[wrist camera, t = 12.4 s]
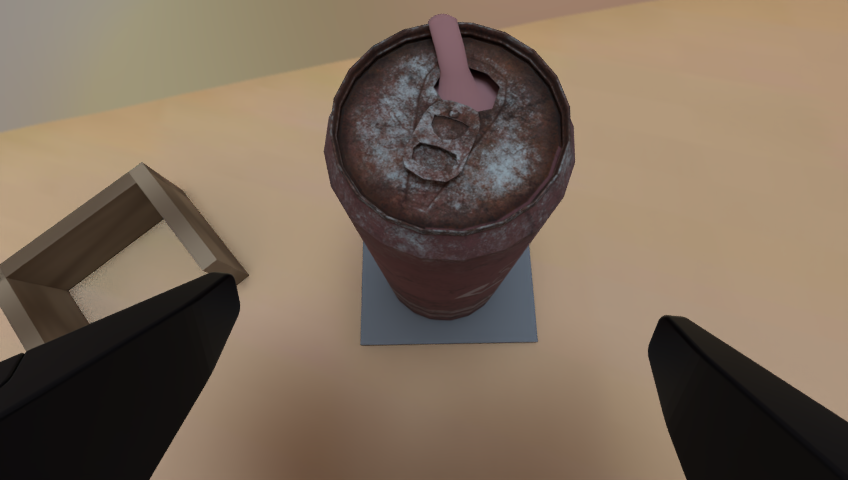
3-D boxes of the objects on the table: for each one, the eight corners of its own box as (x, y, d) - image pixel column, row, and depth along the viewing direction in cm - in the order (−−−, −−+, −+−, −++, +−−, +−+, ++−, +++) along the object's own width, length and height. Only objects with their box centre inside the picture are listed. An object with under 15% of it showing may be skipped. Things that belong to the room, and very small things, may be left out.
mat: (536, 342, 22) (537, 341, 21) (361, 345, 22) (360, 344, 22) (521, 181, 24) (523, 178, 24) (365, 185, 25) (364, 183, 24)
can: (481, 195, 24) (535, -26, 10) (514, 305, 22) (631, 208, 9) (375, 220, 24) (293, 27, 10) (400, 333, 22) (338, 278, 8)
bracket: (248, 275, 23) (216, 259, 20) (109, 388, 22) (49, 391, 18) (181, 189, 25) (141, 162, 22) (47, 289, 23) (-17, 276, 20)
